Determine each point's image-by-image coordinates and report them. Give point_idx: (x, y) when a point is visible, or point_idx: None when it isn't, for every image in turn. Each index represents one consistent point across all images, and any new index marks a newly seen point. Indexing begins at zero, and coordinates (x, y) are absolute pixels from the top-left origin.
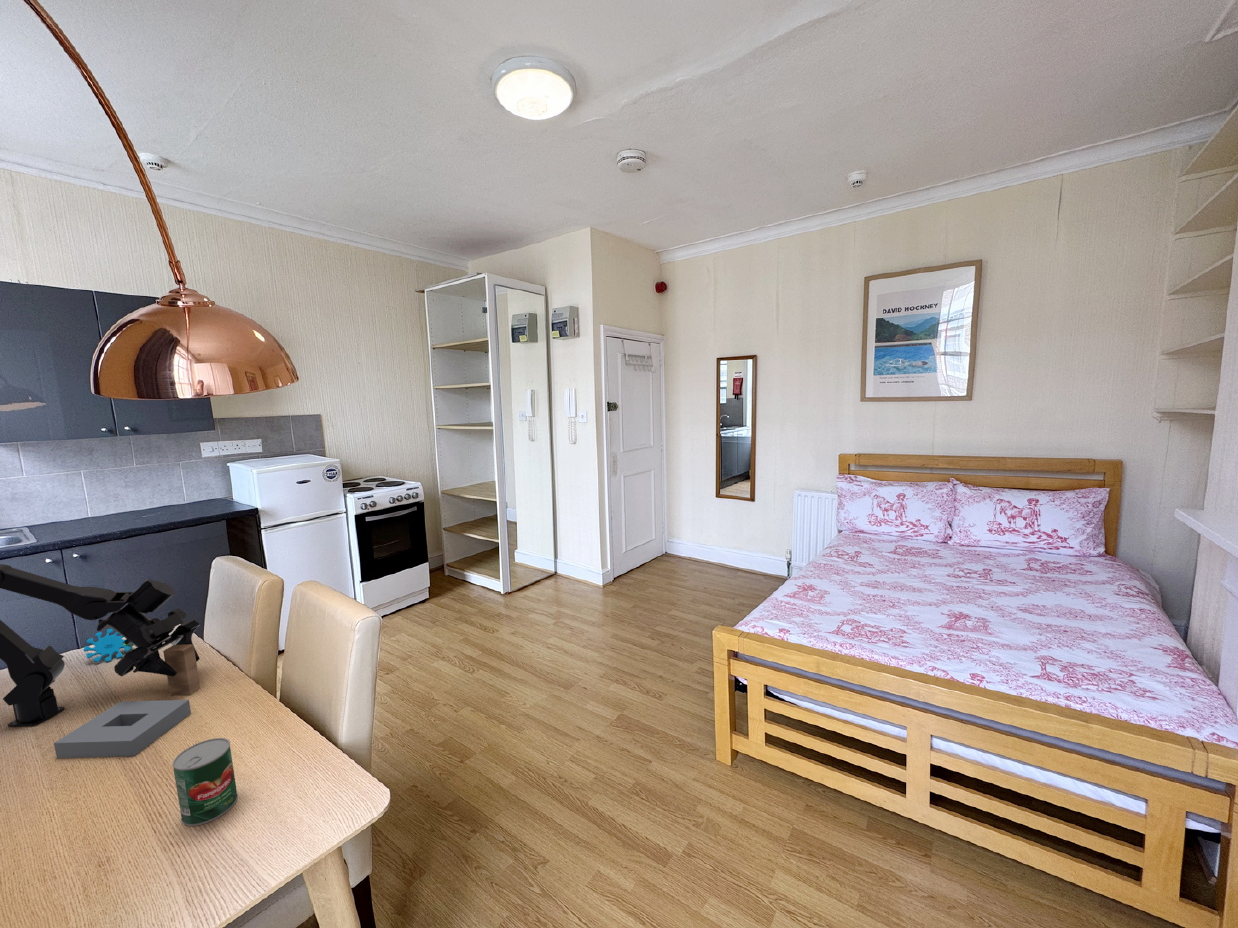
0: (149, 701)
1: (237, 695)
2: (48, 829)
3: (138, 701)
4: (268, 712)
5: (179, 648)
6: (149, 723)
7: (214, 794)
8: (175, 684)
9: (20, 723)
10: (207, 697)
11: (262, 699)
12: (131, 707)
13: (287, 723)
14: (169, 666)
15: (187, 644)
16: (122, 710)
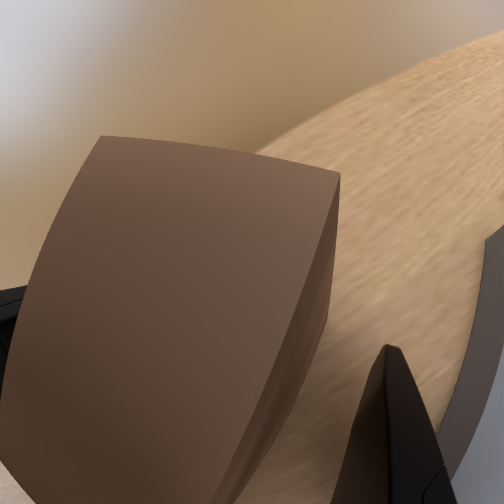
0: (484, 422)
1: (390, 125)
2: None
3: (453, 482)
4: (473, 58)
5: (147, 342)
6: None
7: None
8: (296, 393)
9: None
10: (379, 226)
11: (422, 68)
12: (495, 473)
13: (497, 40)
14: (397, 415)
15: (4, 320)
16: (500, 493)
